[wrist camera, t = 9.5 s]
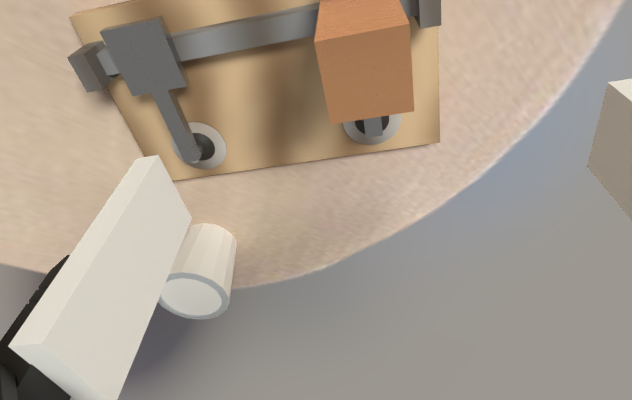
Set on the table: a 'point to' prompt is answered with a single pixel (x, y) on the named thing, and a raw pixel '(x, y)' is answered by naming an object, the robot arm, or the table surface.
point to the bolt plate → (254, 84)
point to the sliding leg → (364, 61)
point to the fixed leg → (154, 74)
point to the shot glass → (201, 273)
